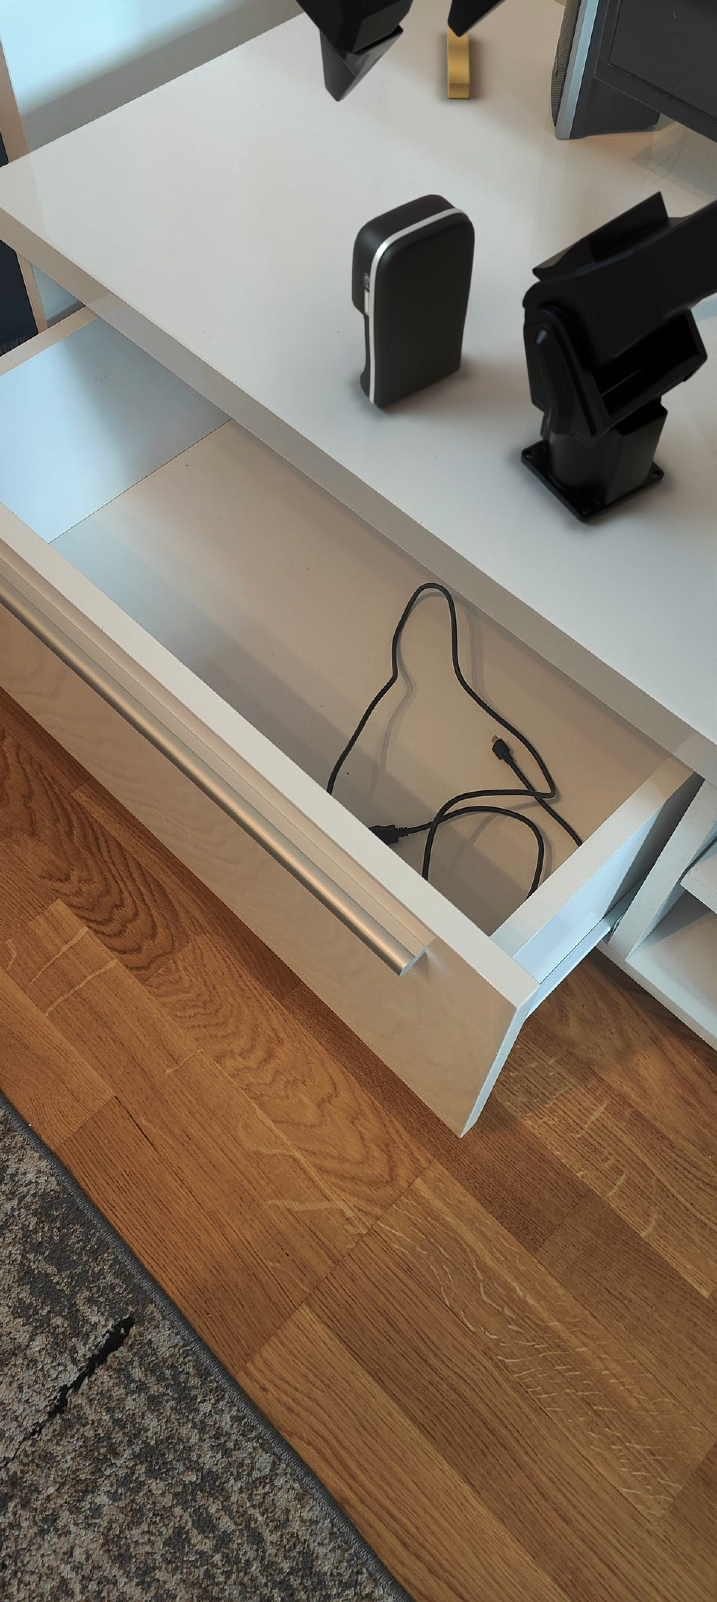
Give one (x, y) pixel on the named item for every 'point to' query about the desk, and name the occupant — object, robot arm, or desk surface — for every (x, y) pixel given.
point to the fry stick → (457, 65)
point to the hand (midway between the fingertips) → (395, 60)
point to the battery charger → (412, 295)
